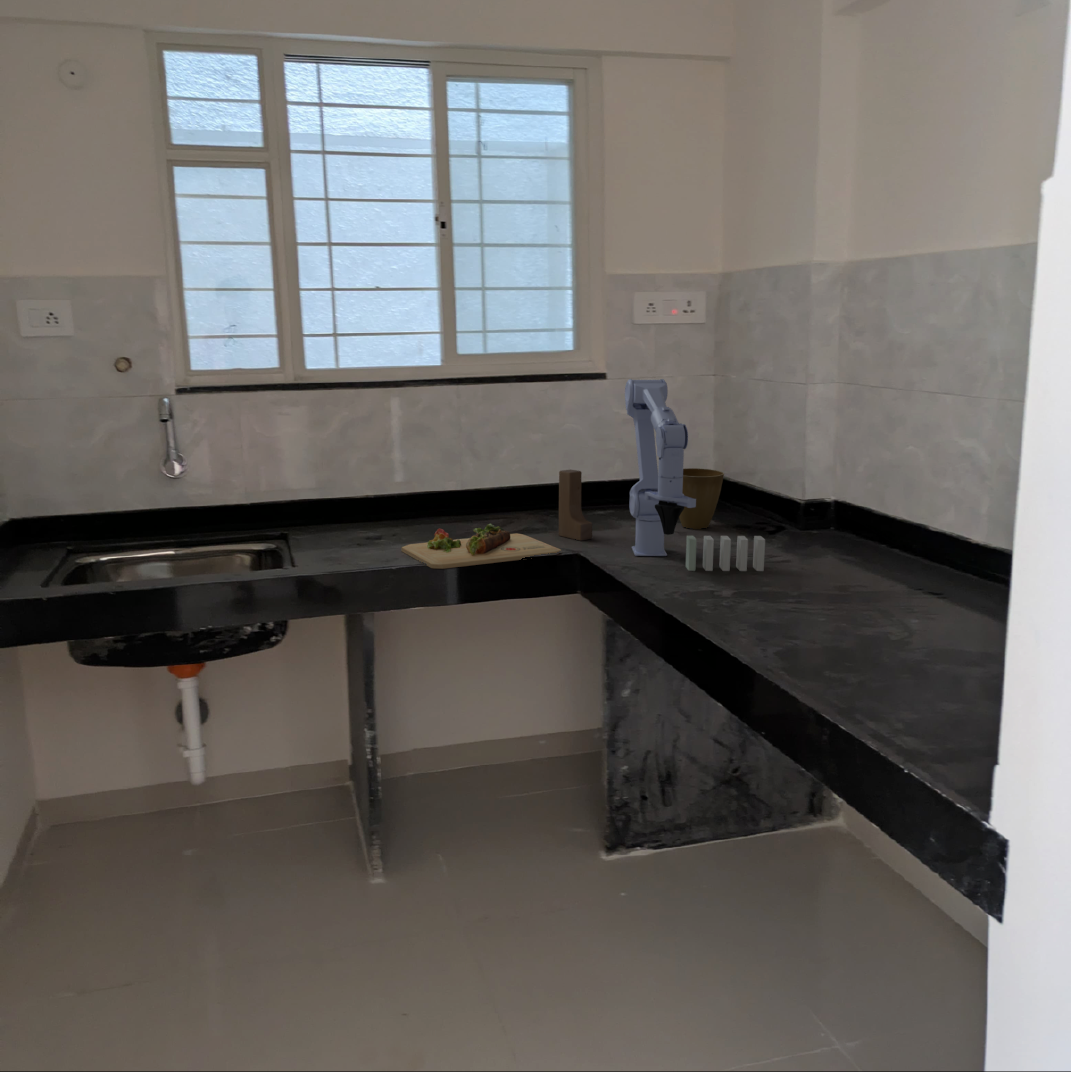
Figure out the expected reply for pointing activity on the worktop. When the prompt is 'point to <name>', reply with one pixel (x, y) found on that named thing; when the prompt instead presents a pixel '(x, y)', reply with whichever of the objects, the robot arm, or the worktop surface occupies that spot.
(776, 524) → the worktop surface
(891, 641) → the worktop surface
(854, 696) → the worktop surface
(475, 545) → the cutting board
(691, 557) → the domino
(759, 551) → the domino
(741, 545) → the domino
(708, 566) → the domino
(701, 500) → the plant pot
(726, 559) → the domino
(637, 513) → the robot arm
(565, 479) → the wooden block
